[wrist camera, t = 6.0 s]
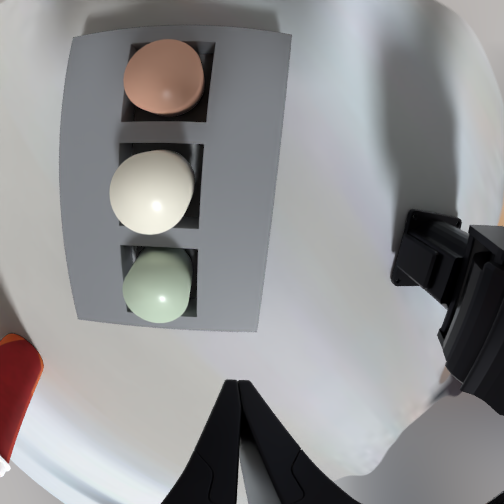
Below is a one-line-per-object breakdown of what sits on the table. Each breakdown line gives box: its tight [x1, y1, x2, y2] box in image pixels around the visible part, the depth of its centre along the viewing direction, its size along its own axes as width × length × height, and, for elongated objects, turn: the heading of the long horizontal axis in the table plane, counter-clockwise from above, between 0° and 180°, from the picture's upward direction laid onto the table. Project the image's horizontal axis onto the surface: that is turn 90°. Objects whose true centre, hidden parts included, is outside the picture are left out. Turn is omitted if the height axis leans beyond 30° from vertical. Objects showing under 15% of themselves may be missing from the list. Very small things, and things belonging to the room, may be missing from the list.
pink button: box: [123, 39, 205, 117], centre depth 13 cm, size 4×4×4 cm
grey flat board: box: [59, 25, 292, 332], centre depth 16 cm, size 13×19×2 cm
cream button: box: [109, 149, 195, 235], centre depth 14 cm, size 4×4×4 cm
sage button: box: [123, 246, 193, 323], centre depth 18 cm, size 4×4×4 cm
